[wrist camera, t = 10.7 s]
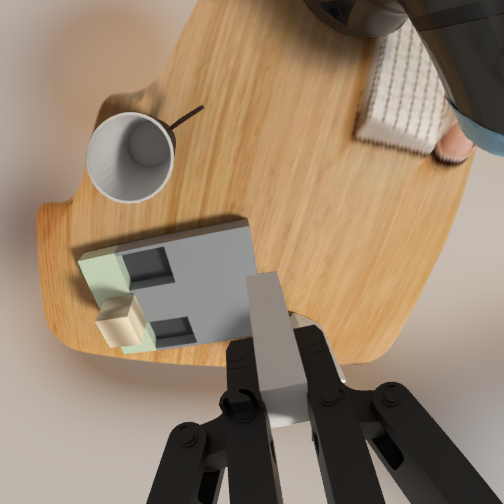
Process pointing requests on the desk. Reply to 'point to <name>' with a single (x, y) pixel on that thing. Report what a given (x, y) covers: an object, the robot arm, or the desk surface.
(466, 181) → the desk surface
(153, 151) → the coffee mug
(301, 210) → the desk surface
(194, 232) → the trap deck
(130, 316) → the maple block
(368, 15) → the robot arm
